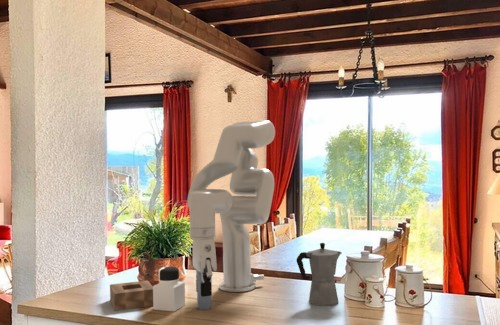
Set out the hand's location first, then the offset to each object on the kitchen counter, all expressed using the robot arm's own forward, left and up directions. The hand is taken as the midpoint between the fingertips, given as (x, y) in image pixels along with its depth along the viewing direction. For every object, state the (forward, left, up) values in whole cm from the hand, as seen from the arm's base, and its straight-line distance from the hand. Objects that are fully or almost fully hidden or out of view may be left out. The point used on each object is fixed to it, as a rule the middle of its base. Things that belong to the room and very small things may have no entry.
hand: (204, 293), depth 143 cm
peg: (0, 0, -4) cm, 4 cm away
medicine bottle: (+9, -5, -4) cm, 12 cm away
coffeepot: (-34, +10, -4) cm, 36 cm away
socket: (+19, -15, -4) cm, 25 cm away
